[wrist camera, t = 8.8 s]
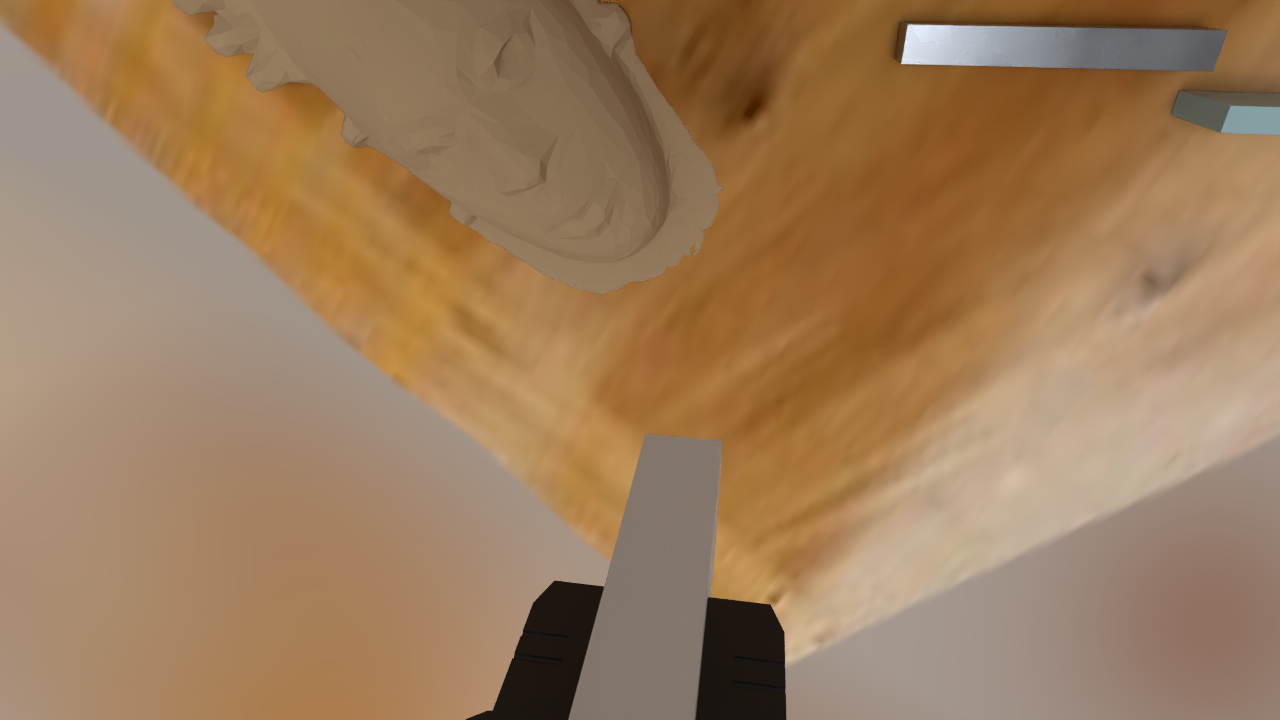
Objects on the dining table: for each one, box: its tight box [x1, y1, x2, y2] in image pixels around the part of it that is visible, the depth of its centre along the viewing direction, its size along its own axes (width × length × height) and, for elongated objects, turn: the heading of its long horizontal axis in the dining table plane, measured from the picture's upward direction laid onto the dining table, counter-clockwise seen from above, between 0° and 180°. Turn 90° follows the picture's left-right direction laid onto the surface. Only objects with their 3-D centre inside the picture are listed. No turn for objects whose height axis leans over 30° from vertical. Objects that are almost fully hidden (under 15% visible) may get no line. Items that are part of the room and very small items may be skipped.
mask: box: [172, 0, 724, 295], centre depth 33 cm, size 15×7×30 cm
